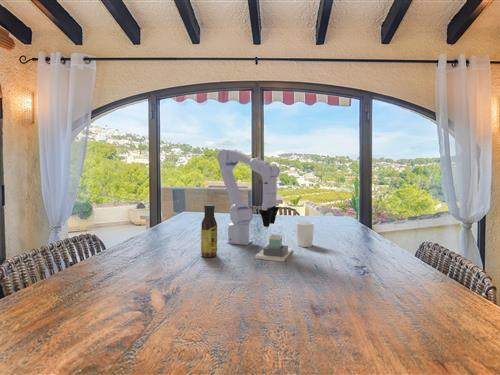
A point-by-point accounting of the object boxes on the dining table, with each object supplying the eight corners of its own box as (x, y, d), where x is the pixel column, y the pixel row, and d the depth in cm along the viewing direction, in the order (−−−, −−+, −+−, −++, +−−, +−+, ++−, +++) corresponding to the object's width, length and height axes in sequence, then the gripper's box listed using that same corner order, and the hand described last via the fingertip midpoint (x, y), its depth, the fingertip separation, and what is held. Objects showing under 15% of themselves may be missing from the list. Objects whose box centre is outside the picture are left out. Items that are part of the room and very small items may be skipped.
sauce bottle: (214, 258, 116) (214, 206, 114) (198, 257, 117) (198, 205, 116) (219, 253, 122) (219, 204, 121) (204, 252, 123) (204, 203, 122)
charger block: (269, 254, 118) (269, 236, 118) (272, 251, 122) (272, 234, 122) (279, 255, 117) (279, 237, 116) (281, 252, 121) (282, 235, 120)
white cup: (312, 243, 140) (313, 221, 139) (314, 247, 132) (314, 225, 132) (295, 242, 141) (295, 221, 140) (296, 247, 133) (296, 224, 132)
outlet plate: (255, 258, 116) (255, 249, 116) (267, 248, 131) (267, 240, 131) (283, 261, 112) (283, 252, 112) (292, 250, 127) (292, 242, 127)
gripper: (273, 194, 120) (273, 229, 121) (283, 192, 134) (282, 222, 135) (257, 194, 123) (256, 227, 124) (267, 191, 136) (267, 221, 137)
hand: (269, 225), depth 130 cm, fingers open, 7 cm apart
